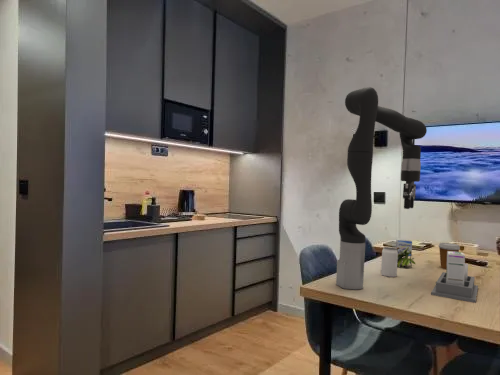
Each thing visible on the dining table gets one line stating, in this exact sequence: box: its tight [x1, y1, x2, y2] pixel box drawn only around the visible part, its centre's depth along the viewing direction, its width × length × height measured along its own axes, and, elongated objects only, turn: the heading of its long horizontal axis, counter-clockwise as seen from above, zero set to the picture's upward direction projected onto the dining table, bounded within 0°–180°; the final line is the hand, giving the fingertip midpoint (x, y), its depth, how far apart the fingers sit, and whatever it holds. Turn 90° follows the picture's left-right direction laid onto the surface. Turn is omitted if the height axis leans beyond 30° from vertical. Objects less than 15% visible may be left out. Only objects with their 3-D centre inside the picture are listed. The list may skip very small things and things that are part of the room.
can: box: [380, 246, 398, 278], centre depth 166 cm, size 6×6×12 cm
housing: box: [430, 262, 479, 304], centre depth 145 cm, size 24×14×12 cm, turn 147°
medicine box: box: [395, 239, 413, 257], centre depth 219 cm, size 8×4×9 cm, turn 81°
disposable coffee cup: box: [438, 242, 461, 270], centre depth 187 cm, size 10×10×12 cm
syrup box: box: [445, 251, 466, 286], centre depth 141 cm, size 6×6×14 cm
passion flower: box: [395, 247, 416, 269], centre depth 187 cm, size 11×11×12 cm
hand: (408, 208), depth 160 cm, fingers open, 8 cm apart
